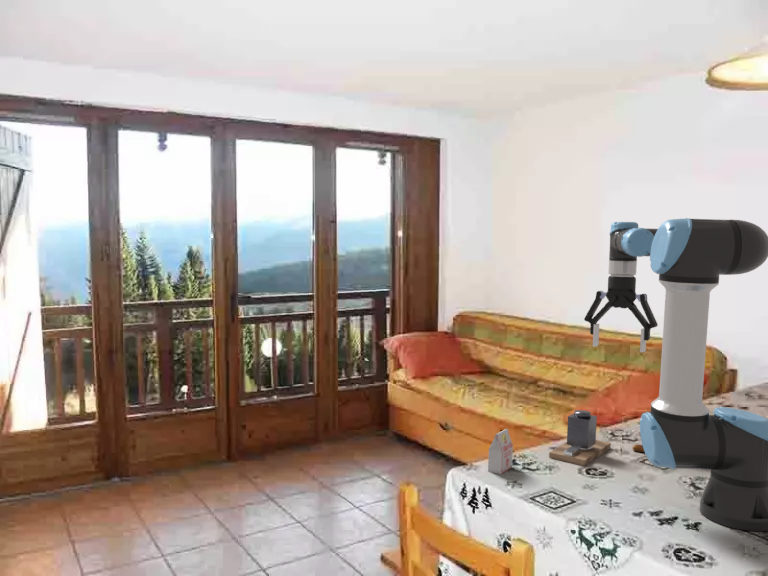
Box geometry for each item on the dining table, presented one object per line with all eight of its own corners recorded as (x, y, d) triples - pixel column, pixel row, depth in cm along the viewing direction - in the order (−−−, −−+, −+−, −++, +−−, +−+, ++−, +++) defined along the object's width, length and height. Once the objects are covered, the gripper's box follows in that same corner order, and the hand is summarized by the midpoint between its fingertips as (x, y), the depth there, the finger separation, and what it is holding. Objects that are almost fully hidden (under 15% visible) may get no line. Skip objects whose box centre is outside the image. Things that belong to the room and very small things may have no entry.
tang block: (584, 465, 174) (585, 443, 173) (549, 457, 180) (549, 436, 179) (610, 447, 189) (611, 427, 189) (577, 440, 195) (578, 421, 195)
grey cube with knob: (587, 448, 180) (589, 416, 179) (566, 444, 184) (568, 412, 183) (595, 443, 185) (596, 411, 184) (575, 439, 188) (576, 408, 188)
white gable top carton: (487, 471, 168) (489, 433, 168) (499, 464, 174) (500, 427, 173) (501, 474, 166) (502, 435, 165) (512, 467, 172) (513, 429, 171)
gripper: (671, 277, 183) (667, 352, 185) (584, 273, 198) (581, 342, 200) (663, 278, 177) (659, 355, 179) (575, 273, 193) (572, 345, 194)
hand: (618, 348), depth 189 cm, fingers open, 13 cm apart
